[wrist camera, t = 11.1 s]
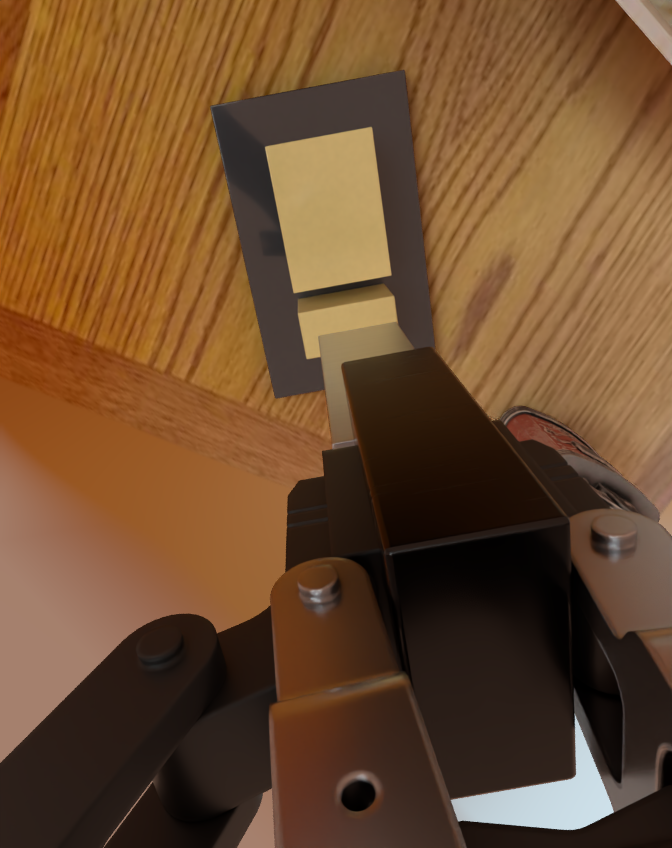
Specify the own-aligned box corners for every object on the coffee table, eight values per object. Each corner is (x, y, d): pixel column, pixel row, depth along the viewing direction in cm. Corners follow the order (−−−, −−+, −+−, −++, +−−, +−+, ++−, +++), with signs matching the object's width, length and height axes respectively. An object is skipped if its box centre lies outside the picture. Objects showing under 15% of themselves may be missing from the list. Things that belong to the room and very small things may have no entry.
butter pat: (305, 341, 35) (306, 359, 31) (297, 298, 34) (297, 313, 30) (390, 325, 35) (400, 342, 31) (384, 283, 34) (394, 295, 30)
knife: (327, 388, 23) (387, 814, 8) (308, 286, 22) (336, 560, 6) (403, 374, 23) (618, 774, 8) (389, 272, 22) (621, 510, 6)
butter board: (275, 392, 37) (272, 424, 33) (212, 108, 31) (197, 95, 27) (433, 364, 37) (453, 391, 33) (401, 73, 31) (419, 53, 26)
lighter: (609, 454, 40) (701, 535, 31) (576, 492, 41) (656, 581, 32) (518, 394, 38) (588, 462, 29) (486, 435, 39) (543, 514, 30)
